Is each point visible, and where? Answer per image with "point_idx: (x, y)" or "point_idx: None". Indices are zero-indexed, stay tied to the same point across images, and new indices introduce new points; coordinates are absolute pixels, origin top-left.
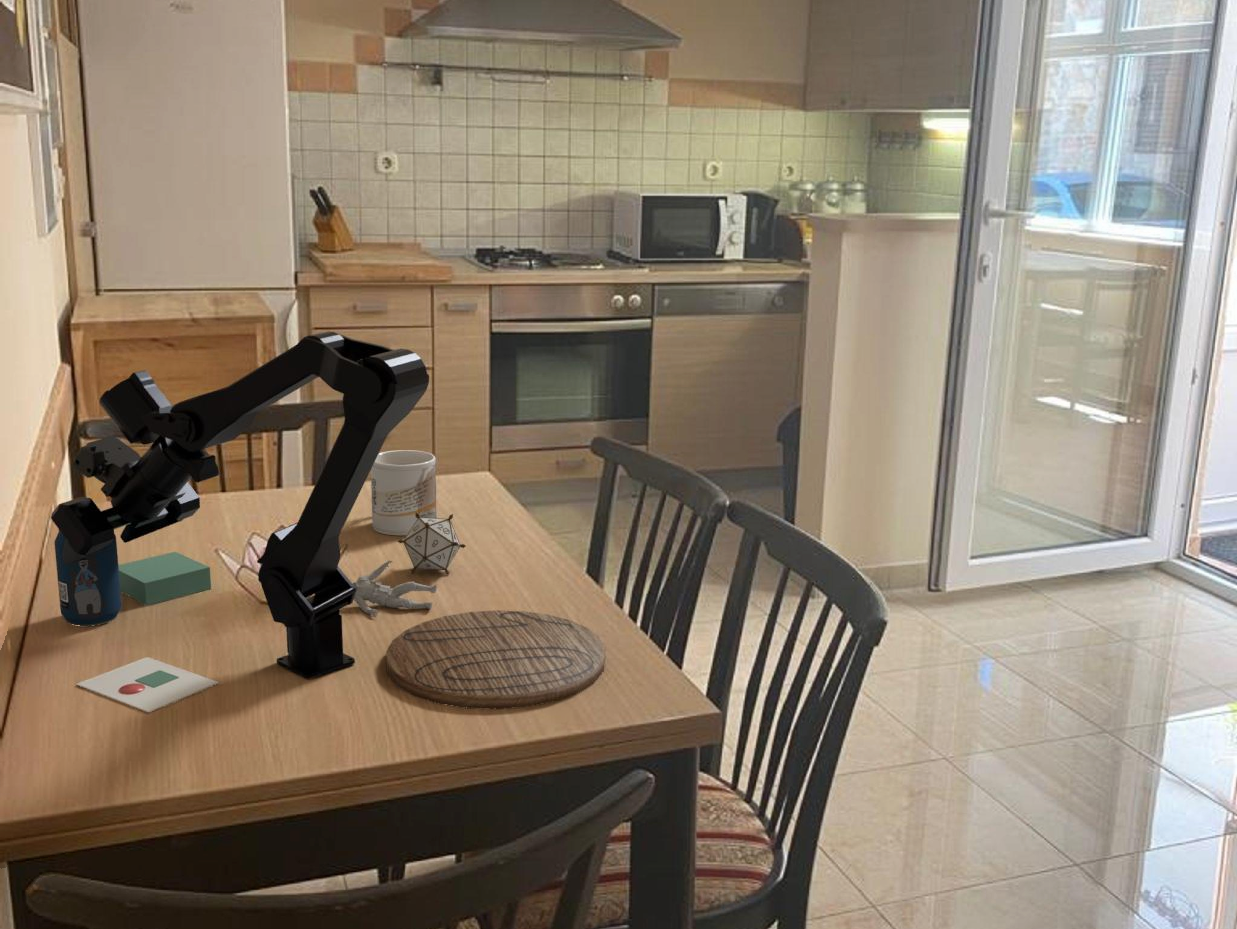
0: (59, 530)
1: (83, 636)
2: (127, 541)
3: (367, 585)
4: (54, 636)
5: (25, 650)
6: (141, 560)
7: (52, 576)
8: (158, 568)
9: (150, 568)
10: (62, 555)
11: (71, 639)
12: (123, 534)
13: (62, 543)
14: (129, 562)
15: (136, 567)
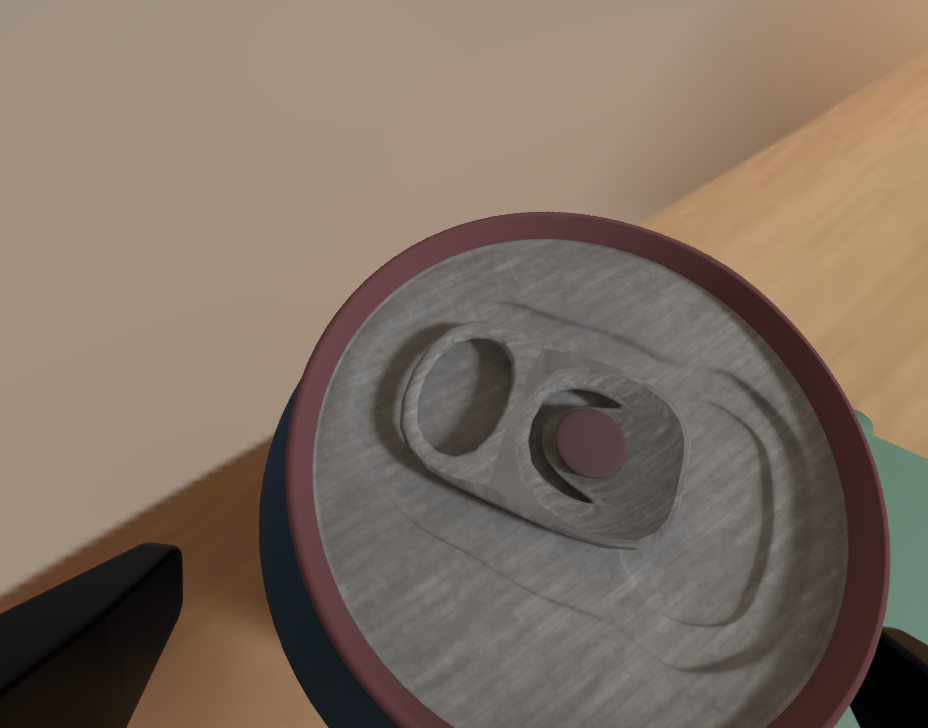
0: (360, 290)
1: (265, 694)
2: (860, 723)
3: None
4: (243, 564)
5: (73, 558)
6: (926, 471)
7: (705, 212)
8: (922, 627)
9: (894, 587)
10: (111, 560)
11: (221, 665)
12: (901, 677)
13: (282, 421)
14: (875, 439)
15: None
